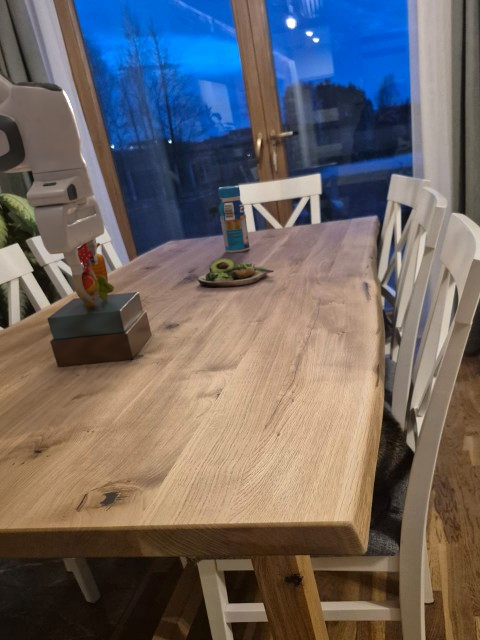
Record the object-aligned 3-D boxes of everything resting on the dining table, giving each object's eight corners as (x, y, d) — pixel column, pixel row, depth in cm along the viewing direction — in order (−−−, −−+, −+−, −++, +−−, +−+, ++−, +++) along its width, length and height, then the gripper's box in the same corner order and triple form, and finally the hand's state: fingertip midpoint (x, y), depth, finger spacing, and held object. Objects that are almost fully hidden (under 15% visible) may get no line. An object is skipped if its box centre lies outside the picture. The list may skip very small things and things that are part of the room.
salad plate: (285, 270, 158) (283, 253, 156) (258, 287, 143) (256, 269, 141) (223, 271, 165) (220, 255, 163) (191, 288, 150) (187, 270, 148)
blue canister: (220, 252, 193) (210, 188, 184) (240, 247, 198) (231, 185, 189) (235, 254, 187) (225, 188, 179) (255, 248, 192) (247, 185, 184)
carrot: (105, 295, 153) (91, 237, 146) (117, 296, 150) (103, 237, 144) (90, 300, 149) (74, 241, 143) (101, 302, 146) (86, 242, 140)
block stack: (57, 367, 105) (43, 319, 101) (84, 341, 117) (72, 298, 114) (133, 359, 104) (121, 311, 100) (151, 334, 117) (141, 290, 113)
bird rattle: (110, 316, 106) (117, 285, 112) (89, 266, 98) (98, 236, 104) (77, 319, 106) (85, 288, 112) (53, 270, 98) (63, 239, 104)
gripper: (69, 185, 108) (88, 259, 114) (21, 196, 89) (46, 284, 95) (102, 181, 108) (119, 256, 114) (60, 192, 89) (84, 281, 95)
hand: (86, 269), depth 104 cm, fingers closed on bird rattle, 6 cm apart
